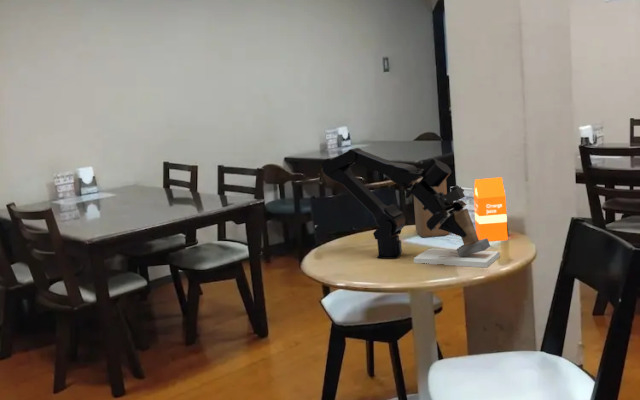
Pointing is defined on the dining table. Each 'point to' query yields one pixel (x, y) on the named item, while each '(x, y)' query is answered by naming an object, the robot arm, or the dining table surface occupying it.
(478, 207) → the orange juice
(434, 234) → the wooden block
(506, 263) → the dining table surface
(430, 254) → the primed board
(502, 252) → the dining table surface
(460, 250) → the brown post on stand
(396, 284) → the dining table surface
